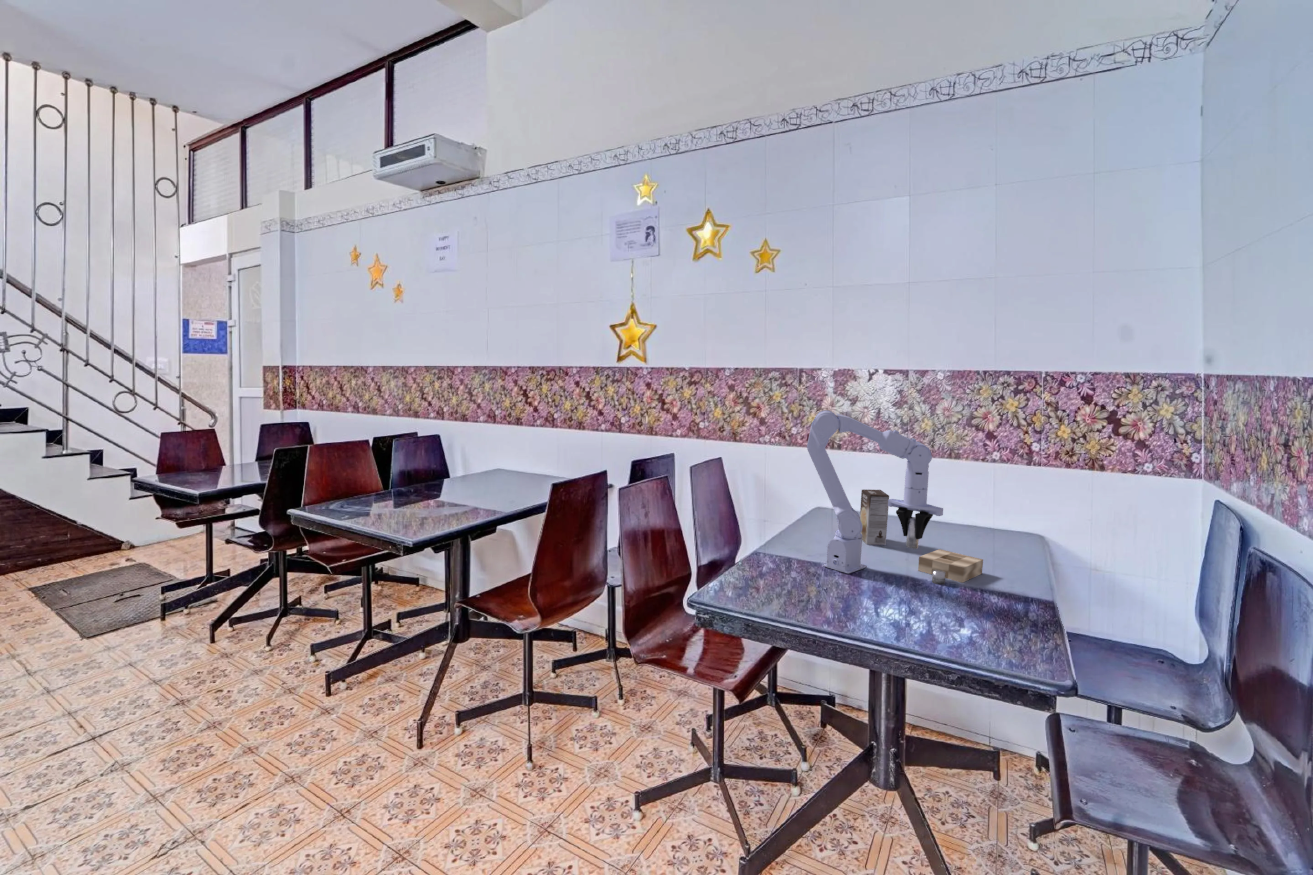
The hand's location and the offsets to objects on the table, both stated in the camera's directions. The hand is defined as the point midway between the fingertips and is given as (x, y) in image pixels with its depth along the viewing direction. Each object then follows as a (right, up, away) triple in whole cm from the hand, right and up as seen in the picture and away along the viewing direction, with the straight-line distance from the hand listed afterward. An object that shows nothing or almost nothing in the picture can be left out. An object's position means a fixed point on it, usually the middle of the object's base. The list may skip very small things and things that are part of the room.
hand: (912, 537), depth 169 cm
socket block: (+11, -10, +2) cm, 15 cm away
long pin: (0, -3, 0) cm, 3 cm away
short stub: (+4, -11, -6) cm, 13 cm away
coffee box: (0, -7, +32) cm, 33 cm away
